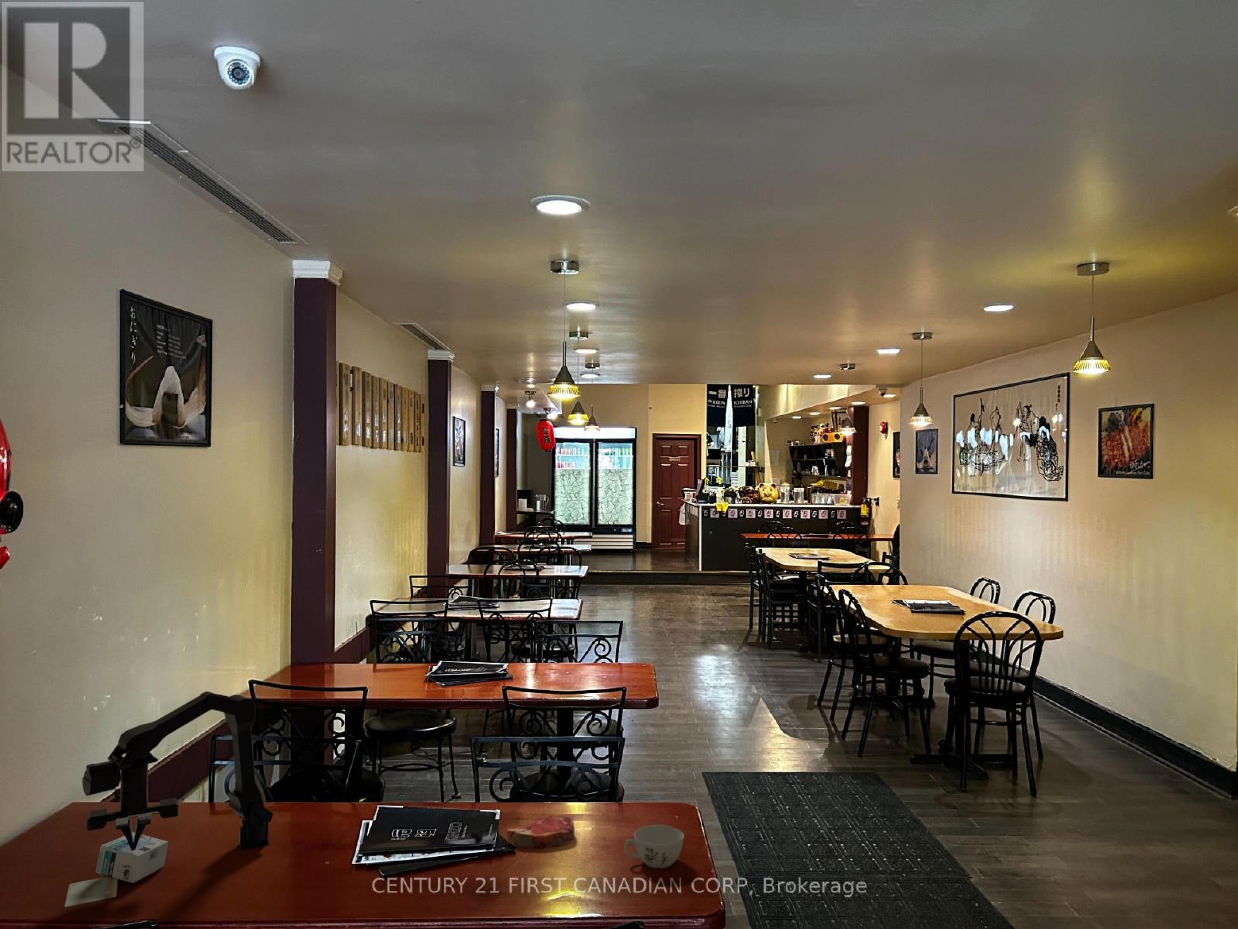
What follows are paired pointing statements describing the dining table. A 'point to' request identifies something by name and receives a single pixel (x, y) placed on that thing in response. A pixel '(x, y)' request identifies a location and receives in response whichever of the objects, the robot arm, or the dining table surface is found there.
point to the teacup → (656, 845)
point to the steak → (543, 833)
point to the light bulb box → (131, 858)
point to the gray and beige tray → (91, 890)
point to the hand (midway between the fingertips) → (133, 849)
